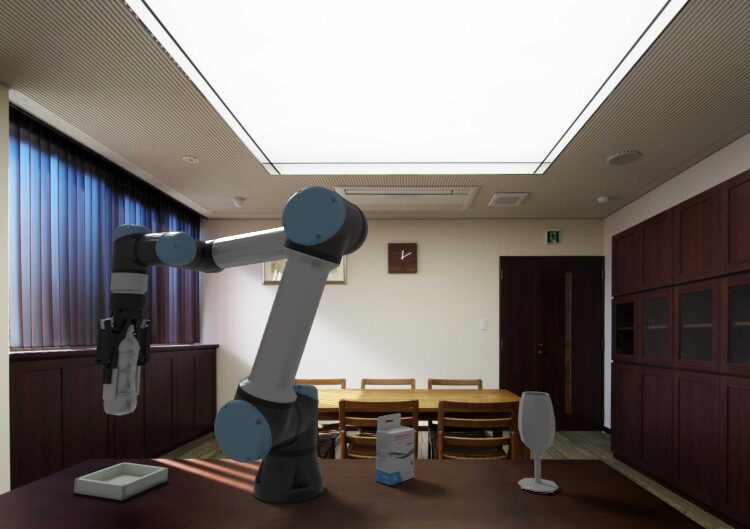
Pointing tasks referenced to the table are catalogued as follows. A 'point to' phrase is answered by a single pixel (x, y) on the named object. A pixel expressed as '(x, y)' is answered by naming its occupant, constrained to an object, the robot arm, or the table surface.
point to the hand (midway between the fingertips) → (121, 396)
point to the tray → (120, 480)
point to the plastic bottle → (125, 376)
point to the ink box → (394, 450)
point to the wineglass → (536, 435)
